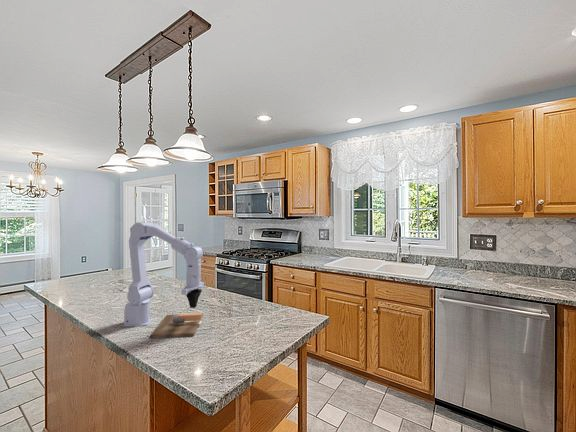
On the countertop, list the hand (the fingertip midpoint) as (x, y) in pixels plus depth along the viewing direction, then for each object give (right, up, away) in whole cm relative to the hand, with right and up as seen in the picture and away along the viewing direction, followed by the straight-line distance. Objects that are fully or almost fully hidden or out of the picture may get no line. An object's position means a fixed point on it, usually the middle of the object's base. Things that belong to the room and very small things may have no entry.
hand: (193, 307), depth 119 cm
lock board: (-6, -8, +1) cm, 11 cm away
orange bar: (-3, -6, +2) cm, 7 cm away
